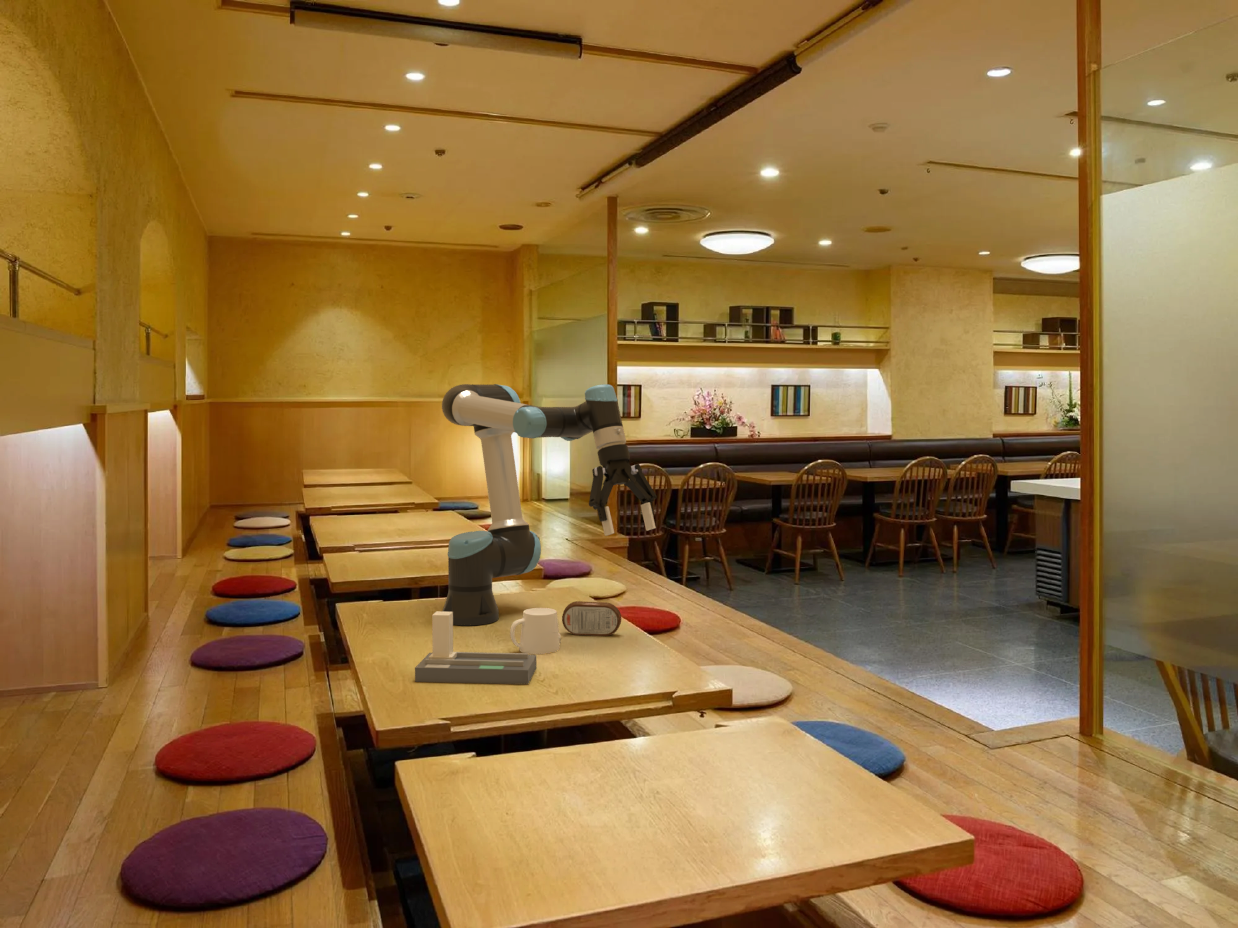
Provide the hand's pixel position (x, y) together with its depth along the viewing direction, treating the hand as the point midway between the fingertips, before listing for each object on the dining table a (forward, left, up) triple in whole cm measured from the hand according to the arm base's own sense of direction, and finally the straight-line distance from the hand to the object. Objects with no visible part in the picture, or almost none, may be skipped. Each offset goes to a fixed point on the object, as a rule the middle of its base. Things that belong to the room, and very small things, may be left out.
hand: (630, 532), depth 228 cm
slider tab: (+27, -39, -25) cm, 53 cm away
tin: (-10, -10, -28) cm, 32 cm away
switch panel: (+27, -32, -28) cm, 50 cm away
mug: (+6, -22, -28) cm, 36 cm away
